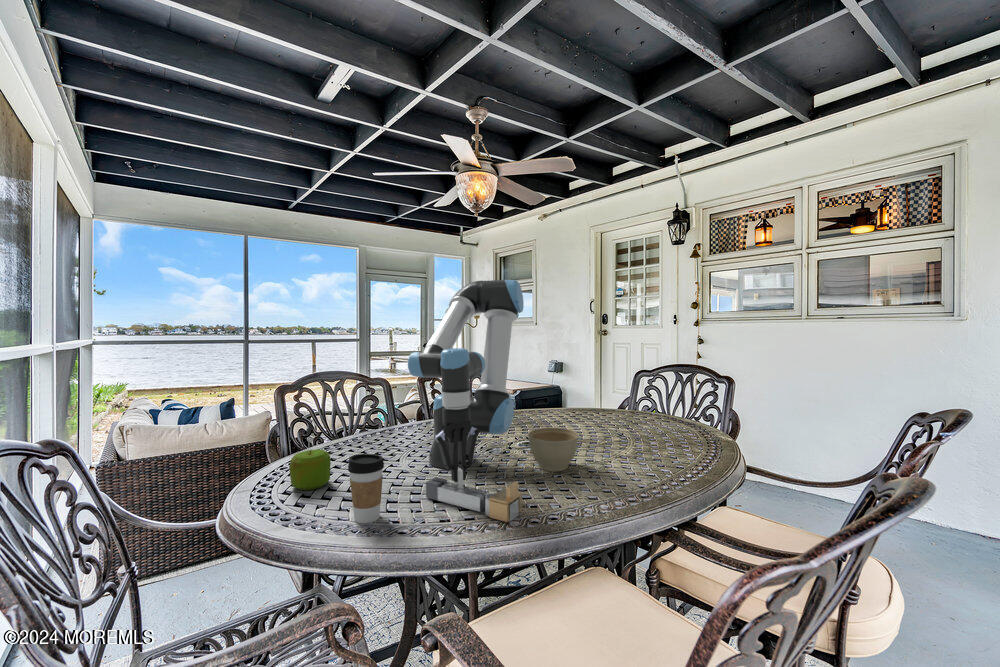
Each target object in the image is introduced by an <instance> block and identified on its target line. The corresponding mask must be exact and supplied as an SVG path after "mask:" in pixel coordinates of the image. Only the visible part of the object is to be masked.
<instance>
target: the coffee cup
mask: <svg viewBox="0 0 1000 667" xmlns="http://www.w3.org/2000/svg"><path fill="white" fill-rule="evenodd" d="M384 467H385V462H384V457H383V456H382V455H379V454H374V453H360V454H353V455H351V456H349V458H348V465H347V471H348V472H349V476H350V477H349V484H350V492H351V502H352V509H353V518H354V521H355V522H356V523H357V524H370V523H373V522H375V521H377V519H378V520H379V519H380V515H381V504H382V503H381V502H382V492H383V491H382V489H383V479H384V478H383V477H384V476H383V469H384Z"/></svg>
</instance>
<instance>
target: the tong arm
mask: <svg viewBox="0 0 1000 667" xmlns="http://www.w3.org/2000/svg"><path fill="white" fill-rule="evenodd" d="M431 480H433V481H437V482H441V483H442V485H444V486H449V487H453V488H457V489H461V490H465V491H469V492H473V493H477V494H481V495H484V509H485V495H487V494H490V491H488V490H487V491H486V490H483V489H479V488H473V487H472V486H466V485H463V486H462V485H458V484H455V483H454V482H449V481H448V479H445V478H440V477H437V476H436V477H434V478H431Z"/></svg>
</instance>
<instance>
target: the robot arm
mask: <svg viewBox="0 0 1000 667" xmlns="http://www.w3.org/2000/svg"><path fill="white" fill-rule="evenodd" d="M524 307H525V306H524V295H523V290H522V287H521V284H520V283H519V281H518V280H515V279H500V280H498V279H495V280H475V281H472V282H469V283H468V284H466V285H465V286H463V287H462V288H460V289H459V290H458V291H456V293H455V294H454V295H453V297H451V299H450V300H449V303H448V310H447V311H446V313H445V314H444V316H443V318H442V319H441V320H440V322H439V324H438V326H437V327H436V328H435V331H434V332H433V333H432V336H431V337H430V338H429V341H428V342H427V344H426V345H425V347H424V348H423V350H422V351H415V352H411V353H410V355H409V356H408V360H407V369H408V371H409V372H408V373H409V374H410V375H411V376H412V377H415V378H416V377H417V378H423V379H424V378H431V379H433V378H434V379H435V378H439V379H441V394H438V395H436V396H435V398H434V399H433V408H432V411H433V412H432V413H433V441H432V445H431V449H430V452H429V454H428V455H429V456H428V464H430V466H432V467H435V468H439V469H446V470H448V471H450V473H451V475H450V476H451V482H452V483H454V484H458V485H462V486H464V481H465V480H467V475H466V470H468V466H472V464H473V463H475V462H474V461H475V448H476V445H477V443H476V442H477V439H478V437H479V434H489V435H493V436H494V435H504V434H506V433H507V432H508V431H509V429H510V428H511V425H512V424H513V419H514V415H515V402H514V400H513V399H512V398H510V396H511V394H510V393H509V391H508V390H507V389H506V388H507V386H506V385H507V380H508V378H507V377H508V368H509V357H510V349H511V348H510V347H511V337H512V329H513V327H512V326H513V323H514V322H516V320H517V319H518V314H521V313H523V311H524ZM482 313H483V316H484V317H485V318H486V319H487V325H486V334H485V343H484V351H483V355H482V353H480V352H477V351H469V350H468V349H467V348H462V347H460V348H459V347H458V348H456V347H455V344H456V343H457V341H458V339H459V337H460V335H461V333H462V332H463V329H465V326H466V324H467V323H468V320H470V319H472V318H473V317H474V315H475V314H482ZM453 347H455V348H453ZM480 375H481V376H480ZM479 376H480V377H481V378H480V386H478V387H477V388H476V389H474V395H473V396H471V384H470V382H471V380H472V379H475V378H477V377H479Z"/></svg>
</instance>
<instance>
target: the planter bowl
mask: <svg viewBox="0 0 1000 667" xmlns="http://www.w3.org/2000/svg"><path fill="white" fill-rule="evenodd" d="M527 437H528V442H529V443H528V444H529V448H530V452H531V454H532V456H533V458H534V460H535V461H536V463H537V466H538V468H539V469H541V470H543V471H547V472H562V471H565V470H567V469H568V468H569V464H570V463H571V461H572V460H573V458H574V457H575V455H576V452H577V449H578V443H579V442H578V440H579V434H578V432H576V431H575V430H571V429H568V428H562V427H539V428H536V429H531V430H530V431H528V435H527Z"/></svg>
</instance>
